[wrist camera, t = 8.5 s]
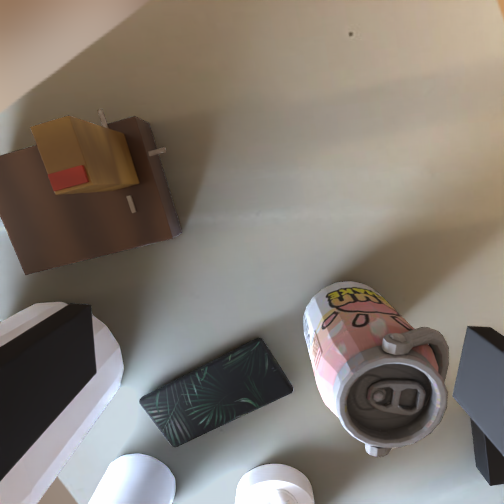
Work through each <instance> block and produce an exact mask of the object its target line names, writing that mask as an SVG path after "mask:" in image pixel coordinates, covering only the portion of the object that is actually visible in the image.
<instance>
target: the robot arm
mask: <svg viewBox="0 0 504 504" xmlns="http://www.w3.org/2000/svg"><path fill="white" fill-rule="evenodd" d="M96 373H97V369H96V358H95V346H94V334H93V322H92V310H91V305H90V304H72V303H70V304H68V305H67V306H65V307H64V308H62V309H60V310H59V311H57V312H56V313H54V314H52V315H51V316H49V317H47V318H46V319H44V320H43V321H41V322H39V323H38V324H36V325H35V326H33V327H31V328H30V329H28V330H27V331H25V332H23V333H22V334H20V335H19V336H17V337H15V338H14V339H12V340H11V341H9V342H7V343H6V344H4V345H3V346H1V347H0V481H1V480H2V479H3V478H4V477H5V476H6V475H7V473H8V472H9V471H10V470H11V469H12V468H13V467H14V466H15V464H16V463H17V462H18V461H19V460H20V459H21V458H22V457H23V455H24V454H25V453H26V452H27V451H28V450H29V449H30V448H31V446H32V445H33V444H34V443H35V442H36V441H37V440H38V439H39V437H40V436H41V435H42V434H43V433H44V432H45V431H46V429H47V428H48V427H49V426H50V425H51V424H52V423H53V422H54V420H55V419H56V418H57V417H58V416H59V415H60V414H61V413H62V411H63V410H64V409H65V408H66V407H67V406H68V405H69V404H70V402H71V401H72V400H73V399H74V398H75V397H76V396H77V395H78V393H79V392H80V391H81V390H82V389H83V388H84V387H85V386H86V384H87V383H88V382H89V381H90V380H91V379H92V378H93V376H94V375H95V374H96ZM453 397H454V399H455V400H456V401H457V402H458V403H459V404H460V406H461V407H462V408H463V409H464V410H465V412H466V413H467V414H468V415H469V416H470V417H471V419H472V420H473V421H474V422H475V423H476V424H477V426H478V427H479V428H480V429H481V430H482V431H483V433H484V434H485V435H486V436H487V437H488V438H489V440H490V441H491V442H492V443H493V444H494V445H495V447H496V448H497V449H498V450H499V451H500V452H501V454H502V455H503V456H504V336H503V335H501V334H500V333H498V332H497V331H495V330H494V329H492V328H491V327H475V326H467V331H466V335H465V340H464V345H463V349H462V354H461V359H460V363H459V368H458V373H457V377H456V382H455V386H454V391H453Z"/></svg>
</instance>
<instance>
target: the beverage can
mask: <svg viewBox="0 0 504 504" xmlns="http://www.w3.org/2000/svg"><path fill="white" fill-rule="evenodd" d="M303 327H304V334H305V338H306V342H307V346H308V350H309V354H310V359H311V363H312V367H313V371H314V375H315V379H316V383H317V387H318V390H319V392H320V394H321V396H322V399H323V401H324V403H325V404H326V405H327V406H328V407H329V408H330V410H331V411H332V412H333V413H334V414H335V415H336V416H337V417H339V419H340V422H341V424H342V426H343V427H344V428H345V429H346V430H347V431H348V432H349V434H350V435H351V436H352V437H354V438H355V439H357V440H359V441H361V442H363V443H365V448H366V451H367V453H368V454H370V455H372V456H375V457H384V456H385V455H387V454H388V453H389V452H390V450H391V449H392V448H397V447H403V446H406V445H409V444H412V443H416V442H417V441H419V440H421V439H422V438H424V437H425V436H427V435H429V434H430V433H431V432H432V431H433V430H434V429H435V428H436V426H437V425H438V424H439V423H440V422H441V420H442V418H443V415H444V413H445V411H446V408H447V396H448V392H447V389H446V386H445V379H446V374H447V370H448V365H449V347H448V345H447V343H446V341H445V339H444V337H443V335H442V334H441V333H440V332H439V331H436V330H434V329H431V328H428V327H421V328H417V329H414V328H413V327H412V326H411V325H410V324H409V323H408V322H407V321H406V320H405V319H404V318H403V317H402V316H401V315H400V314H399V313H398V312H397V311H396V310H395V309H394V308H393V307H392V306H391V305H390V304H389V303H388V302H387V301H386V300H385V299H384V298H383V297H382V296H381V295H380V294H379V293H378V292H377V291H376V290H374V289H372V288H371V287H369V286H367V285H365V284H362V283H357V282H353V281H349V282H337V283H334V284H332V285H329V286H326V287H324V288H323V289H322V290H320V291H319V292H318V293H317V294H315V295H314V296H313V298H312V299H311V301H310V302H309V304H308V305H307V307H306V310H305V313H304V317H303ZM428 344H429V345H428Z"/></svg>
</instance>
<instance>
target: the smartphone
mask: <svg viewBox="0 0 504 504" xmlns="http://www.w3.org/2000/svg"><path fill="white" fill-rule="evenodd" d="M292 392H293V386H292V385H291V383H290V381H289V380H288V378H287V377H286V375H285V374H284V372H283V371H282V369H281V367H280V366H279V364H278V363H277V361H276V360H275V358H274V357H273V355H272V353H271V352H270V350H269V349H268V347H267V346H266V344H265V343H264V341H263V340H262V338H256V339H254V340H252V341H250V342H248V343H246V344H244V345H242V346H240V347H239V348H237V349H235V350H233V351H231V352H229V353H227V354H225V355H223V356H221V357H219V358H217V359H215V360H213V361H211V362H209V363H207V364H205V365H204V366H202V367H200V368H198V369H196V370H194V371H192V372H190V373H188V374H186V375H184V376H182V377H180V378H178V379H176V380H174V381H172V382H170V383H169V384H167V385H165V386H163V387H161V388H159V389H157V390H155V391H153V392H151V393H149V394H147V395H145V396H143V397H142V398H141V399H140V404H141V406H142V407H143V408H144V410H145V411H146V412H147V414H148V415H149V416H150V418H151V419H152V420H153V422H154V423H155V424H156V425H157V427H158V428H159V429H160V431H161V432H162V433H163V435H164V436H165V437H166V439H167V440H168V441H169V443H170V444H171V445H172V446H173V447H177V446H179V445H182V444H184V443H186V442H188V441H190V440H192V439H194V438H197V437H199V436H201V435H203V434H205V433H207V432H209V431H212V430H214V429H216V428H218V427H220V426H222V425H224V424H226V423H229V422H231V421H233V420H235V419H237V418H239V417H241V416H244V415H246V414H248V413H250V412H252V411H254V410H256V409H258V408H261V407H263V406H265V405H267V404H269V403H271V402H273V401H276V400H278V399H280V398H282V397H284V396H286V395H288V394H291V393H292Z"/></svg>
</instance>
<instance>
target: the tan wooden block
mask: <svg viewBox="0 0 504 504" xmlns="http://www.w3.org/2000/svg"><path fill="white" fill-rule="evenodd" d="M30 128H31V131H32V134H33V136H34V139H35V141H36V144H37V147H38V149H39V152H40V155H41V157H42V160H43V163H44V165H45V168H46V171H47V173H48V177H49V180H50V183H51V185H52V188H53V190H54V192H55V194H56V195H61V194H76V193H90V192H105V191H114V190H118V189H122V188H125V187H129V186H133V185H137V184H140V182H139V179H138V176H137V173H136V170H135V167H134V164H133V161H132V157H131V154H130V151H129V148H128V145H127V142H126V139H125V136H124V133H121V132H118V131H115V130H112V129H109V128H106V127H103V126H99V125H96V124H93V123H90V122H87V121H84V120H81V119H78V118H75V117H72V116H69V115H68V116H65V117H62V118H58V119H55V120H51V121H48V122H45V123H41V124H38V125H35V126H31V127H30Z"/></svg>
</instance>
